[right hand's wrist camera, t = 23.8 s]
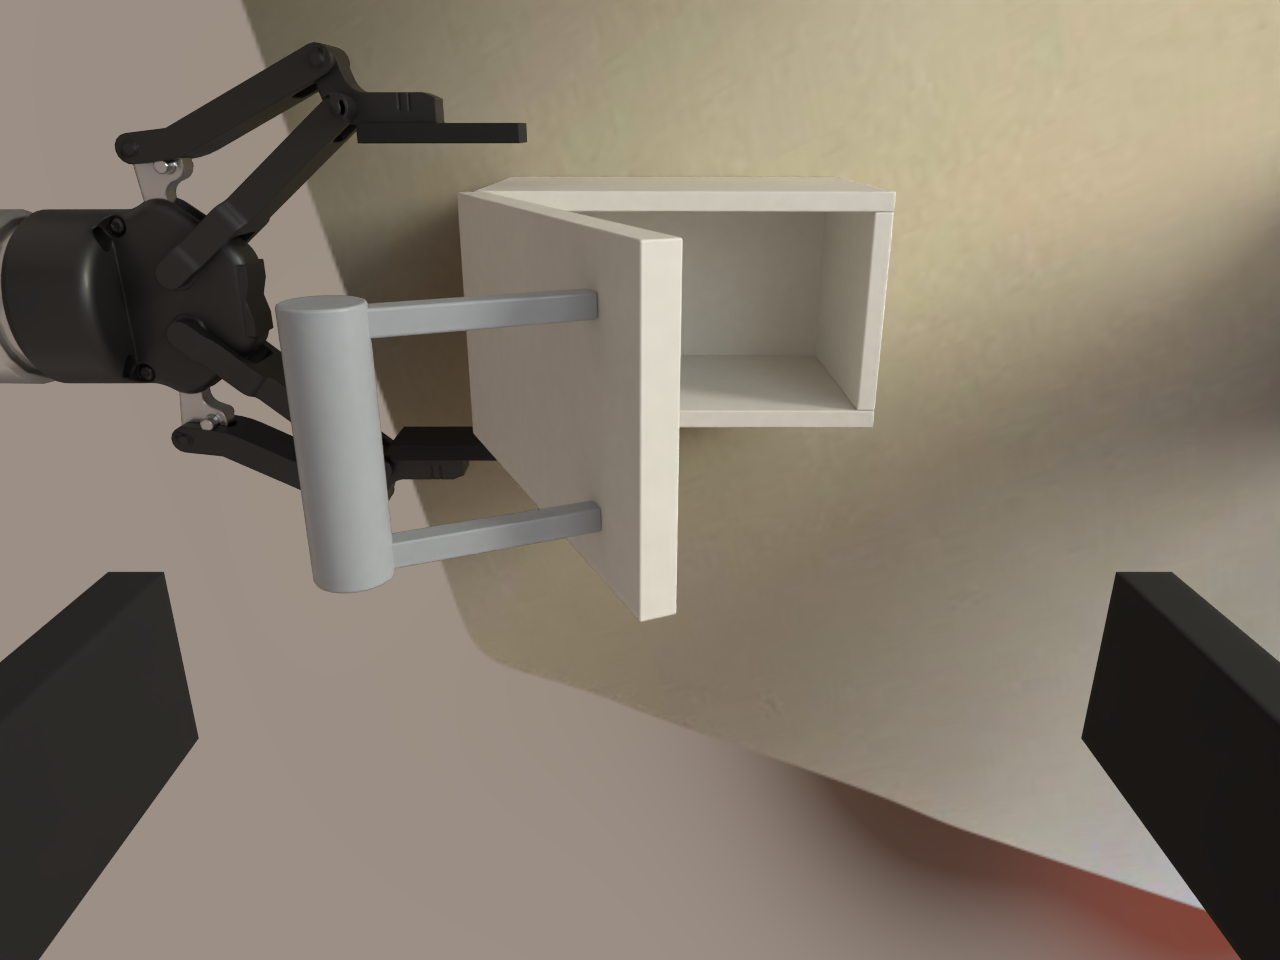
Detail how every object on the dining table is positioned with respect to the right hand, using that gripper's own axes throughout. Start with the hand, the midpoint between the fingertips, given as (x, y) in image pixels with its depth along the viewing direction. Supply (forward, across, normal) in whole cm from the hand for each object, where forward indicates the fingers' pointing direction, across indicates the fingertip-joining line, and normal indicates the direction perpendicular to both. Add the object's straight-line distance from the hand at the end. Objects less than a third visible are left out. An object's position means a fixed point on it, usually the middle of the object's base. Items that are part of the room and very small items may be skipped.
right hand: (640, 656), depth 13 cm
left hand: (+29, -5, 0) cm, 30 cm away
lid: (+17, -2, 0) cm, 18 cm away
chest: (+36, +2, 0) cm, 36 cm away
